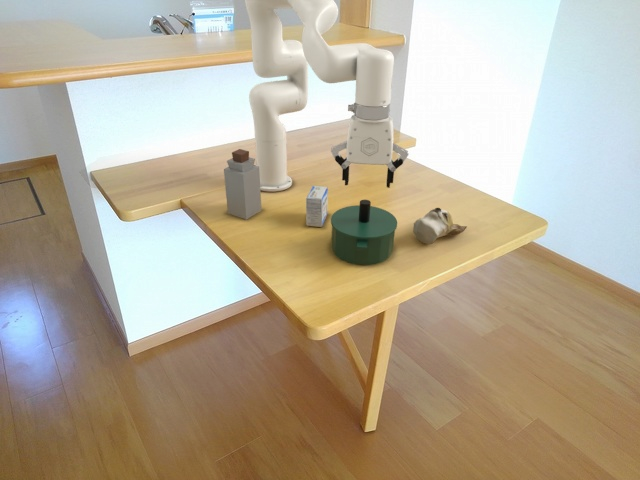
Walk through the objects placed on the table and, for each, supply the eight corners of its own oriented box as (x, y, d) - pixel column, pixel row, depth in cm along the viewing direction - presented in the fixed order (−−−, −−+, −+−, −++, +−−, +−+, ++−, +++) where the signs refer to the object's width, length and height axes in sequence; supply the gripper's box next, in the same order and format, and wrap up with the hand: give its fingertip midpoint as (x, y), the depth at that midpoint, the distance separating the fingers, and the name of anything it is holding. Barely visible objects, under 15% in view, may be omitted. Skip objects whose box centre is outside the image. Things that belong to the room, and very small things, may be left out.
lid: (327, 239, 111) (328, 215, 108) (333, 207, 125) (334, 185, 122) (397, 244, 110) (400, 220, 106) (396, 211, 123) (398, 189, 120)
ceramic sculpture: (405, 207, 121) (440, 193, 130) (400, 236, 125) (434, 222, 135) (439, 223, 114) (474, 208, 124) (433, 254, 119) (466, 237, 128)
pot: (327, 269, 113) (328, 241, 109) (335, 226, 130) (336, 201, 126) (392, 274, 111) (396, 246, 107) (391, 230, 129) (394, 205, 125)
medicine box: (321, 228, 129) (322, 199, 125) (305, 226, 130) (305, 197, 126) (327, 214, 136) (328, 186, 131) (312, 212, 137) (312, 185, 132)
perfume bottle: (246, 219, 133) (242, 158, 123) (227, 213, 136) (222, 153, 126) (261, 210, 138) (258, 150, 128) (243, 204, 141) (238, 145, 131)
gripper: (330, 114, 100) (328, 188, 109) (413, 117, 99) (405, 193, 107) (333, 104, 107) (331, 176, 115) (411, 108, 105) (404, 180, 114)
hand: (367, 184), depth 111 cm, fingers open, 9 cm apart
